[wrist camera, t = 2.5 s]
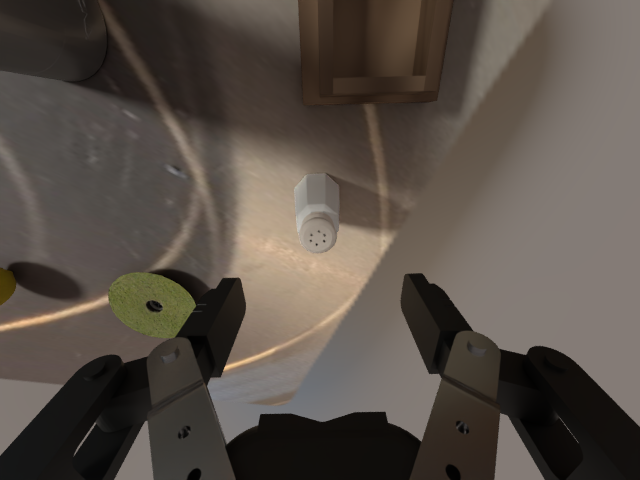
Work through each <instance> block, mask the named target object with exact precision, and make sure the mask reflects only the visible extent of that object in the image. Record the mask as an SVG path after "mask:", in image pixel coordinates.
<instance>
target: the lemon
mask: <svg viewBox="0 0 640 480" xmlns="http://www.w3.org/2000/svg"><path fill="white" fill-rule="evenodd" d="M15 289H16V280H15V278H14V276H13V272H12V271H9V270H5V269H3V268H0V305H2V304H3V303H4V302H6V301H7V300H8V299H9V298H10V297H11V296H12V294H13V293H14V291H15Z"/></svg>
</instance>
